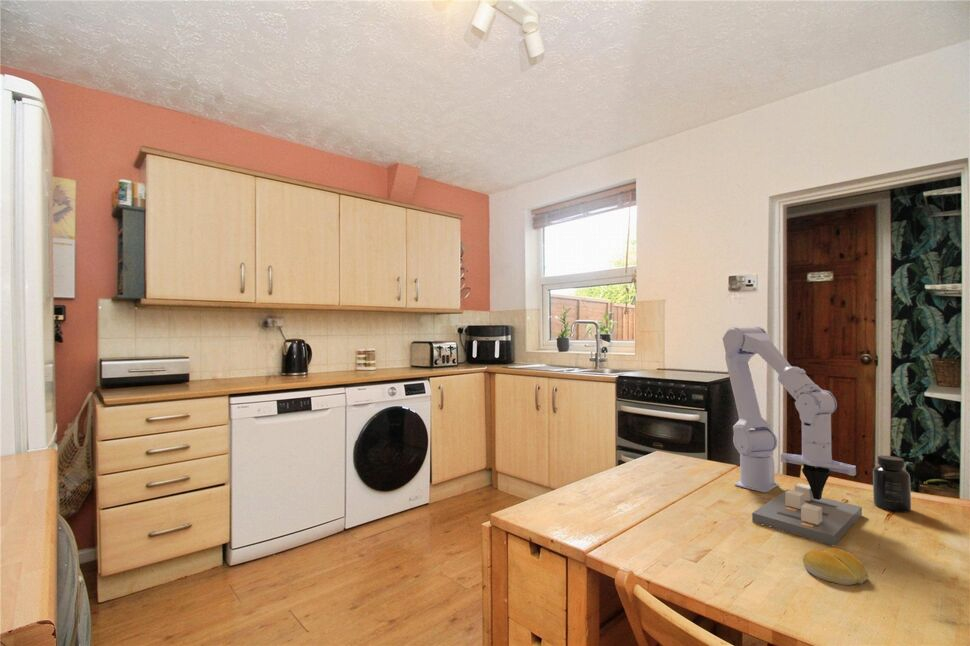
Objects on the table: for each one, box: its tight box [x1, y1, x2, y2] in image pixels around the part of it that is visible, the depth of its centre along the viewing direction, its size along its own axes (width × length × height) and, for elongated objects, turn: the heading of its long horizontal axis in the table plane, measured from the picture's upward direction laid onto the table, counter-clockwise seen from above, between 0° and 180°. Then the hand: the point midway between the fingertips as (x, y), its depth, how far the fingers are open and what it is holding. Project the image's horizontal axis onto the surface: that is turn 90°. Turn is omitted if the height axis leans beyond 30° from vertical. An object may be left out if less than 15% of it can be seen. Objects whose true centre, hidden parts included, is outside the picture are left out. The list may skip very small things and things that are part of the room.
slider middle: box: [785, 489, 805, 509], centre depth 106 cm, size 3×3×3 cm
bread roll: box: [802, 547, 869, 586], centre depth 81 cm, size 8×9×4 cm
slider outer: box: [801, 503, 822, 525], centre depth 98 cm, size 3×3×3 cm
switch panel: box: [751, 489, 863, 547], centre depth 104 cm, size 23×15×2 cm, turn 129°
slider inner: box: [794, 482, 813, 502], centre depth 111 cm, size 3×3×3 cm
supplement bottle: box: [872, 455, 912, 513], centre depth 110 cm, size 7×7×12 cm
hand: (817, 498), depth 108 cm, fingers closed
